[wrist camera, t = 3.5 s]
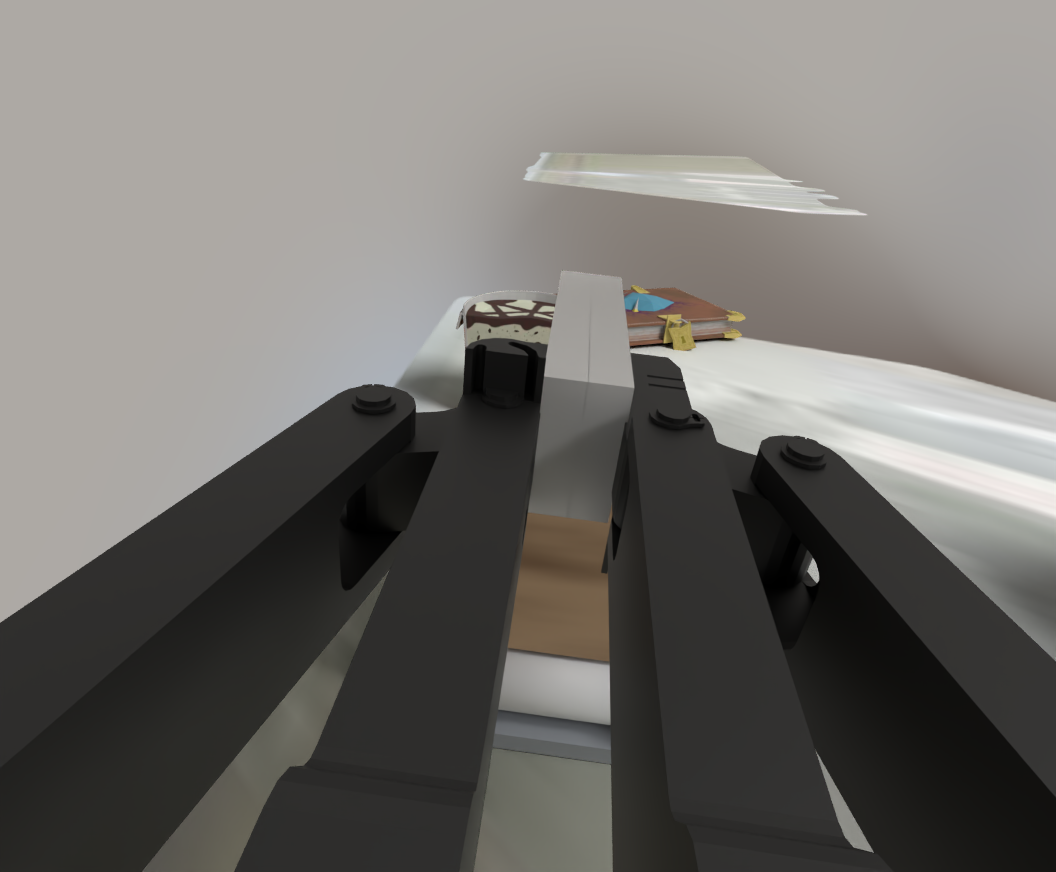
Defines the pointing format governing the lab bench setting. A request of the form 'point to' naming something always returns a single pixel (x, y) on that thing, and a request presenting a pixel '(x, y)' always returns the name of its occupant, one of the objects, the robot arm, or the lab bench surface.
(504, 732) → the roller bed
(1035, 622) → the lab bench surface
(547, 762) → the lab bench surface
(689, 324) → the book
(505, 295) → the food container
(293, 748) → the lab bench surface
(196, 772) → the robot arm
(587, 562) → the wooden block
